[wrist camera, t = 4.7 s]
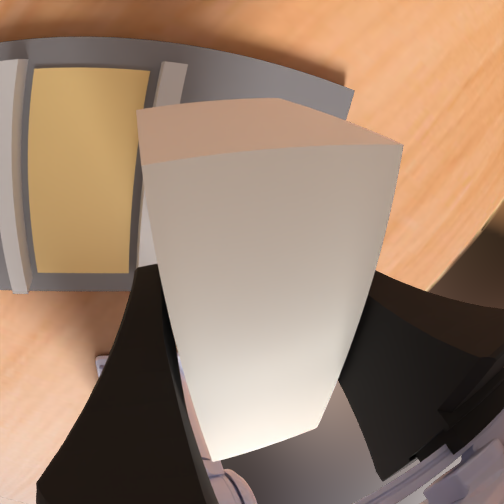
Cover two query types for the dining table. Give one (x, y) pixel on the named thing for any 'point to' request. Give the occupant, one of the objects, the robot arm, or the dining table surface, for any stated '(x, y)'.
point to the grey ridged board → (104, 147)
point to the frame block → (263, 255)
